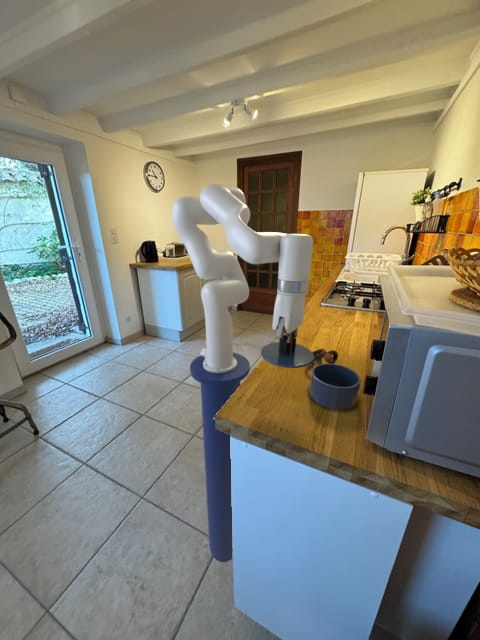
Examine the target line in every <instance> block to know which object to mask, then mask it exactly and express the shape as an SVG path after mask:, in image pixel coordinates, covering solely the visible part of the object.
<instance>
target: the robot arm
mask: <svg viewBox="0 0 480 640" xmlns="http://www.w3.org/2000/svg"><path fill="white" fill-rule="evenodd" d="M246 203H247V201H246V195H245V194H244V192H243V191H242V190H241V189H240V188H238V187H237V186H234V185H233V186H232V185H225V184H220V183H210V184H207V185H205V186H204V187H203V188H202V189H201V190H200V194H199V196H182V197H179V198H177V199H175V200H174V201H173V204H172V207H171V221H172V224H173V227H174V230H175V232H176V233H177V235H178V237H179V238H180V241H182V243H183V245H184V247H185V249H186V252H187V254H188V257H189V259H190V262H191V264H192V267H193V270H194V271H195V273H196V275H197V277H198V278H199V279H201V280H210V281H209V282H207V283H205V284H203V285H204V286H202V288H201V291H200V297H201V302H202V306H203V310H204V311H203V312H204V320H205V322H204V323H205V344H206V345H205V346H206V348H204V347H203V348H202V349H201V352H200V353H199V356H204V357H205V360H204V362H203V367H204V369H205V370H207V371H209V372H212V373H226V372H230V371H232V370H233V369H235V368H236V366H237V360H236V359H235V358H234V357H233V353H234V328H233V327H234V323H233V317H232V315H231V314H230V312H229V310H228V307H229V308H230V307H231V306H232V307H233V306H236V305H240V304H243V303H244V302H247V300H248V298H249V296H250V287H249V285H248V281H247V279H246V277H245V275H244V272H243V270H242V267H241V265H240V263H239V261H238V259H237V257H236V256H235V254H234V253H233V252H231V251H229V250H227V249H226V250H224V249H223V250H216V249H215V248H213V246H212V244H211V242H210V239H209V237H208V236H207V234H206V233H205V232H204V231H203V230H202V229H201V228H199V227H198V226H199V225H200V226H202V225H204V226H215V225H219V224H220V226H222V227H223V228H224V229H225V238H226V241H227V243H228V245H229V248H231V250H232V251H234V252H235V253H236V255H237V256H239V257H240V259H242V260H243V261H245V262H247V263H249V264H251V265H263V264H272V263H278V272H277V288H276V292H277V294H276V297H275V302H274V306H273V307H274V308H273V315H272V325H271V326H272V331H276V335H275V338H277V339H278V342H279V354H281V355H285V356H288V357H289V356H290V355H291V344H292V352H294V351H295V348H296V344H297V338H298V331H299V327H301V326H302V324H303V323H304V317H305V308H306V307H305V306H306V295H307V294H309V285H310V284H309V283H310V274H311V264H312V256H313V247H314V238H313V236H311V235H310V234H306V233H305V234H304V233H283V232H278V231H273V232H272V231H261V232H260V231H255V230H253V229H252V228H251V227H249V226H248V224H249V222H250V219H251V210H250V208H249V206H248V205H247V204H246ZM221 278H222V279H221ZM291 337H292V338H293V342H292V343H291V342H290V340H291Z"/></svg>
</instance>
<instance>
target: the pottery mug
mask: <svg viewBox="0 0 480 640" xmlns="http://www.w3.org/2000/svg"><path fill="white" fill-rule="evenodd" d="M312 353H313V355H314V359H313V361H312V363H311V364H309V366H311V367H313V366H314V363H316V364H317V365H319V364H323V363H322V361H323V359H324V361H325V363H328V364H336V362H337V361H338V359H339V353H338V352H337V350H334V349H332V350H329V351H326V349H325V348H320V349H316V350H314V351H312Z"/></svg>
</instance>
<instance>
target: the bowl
mask: <svg viewBox="0 0 480 640" xmlns="http://www.w3.org/2000/svg"><path fill="white" fill-rule="evenodd" d="M361 382H362V379H361V376H360V375H359V374H358V373H357V372H356V371H355V370H353V369H352V368H350V367H347V366H345V365H342V364H337V363H335V364H328V363H327V362H325V363H322V364H317V365H315V366H314V367H313V368H311V372H310V382H309V395H310V398H311V399H312V400H313V401H314V402H315V403H317V404H318V405H320V406H322V407H324V408H327V409H331V410H336V411H345V410H350V409H352V408H354V407H355V406H356V404H357V401H358V398H359V392H360V387H361Z"/></svg>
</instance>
